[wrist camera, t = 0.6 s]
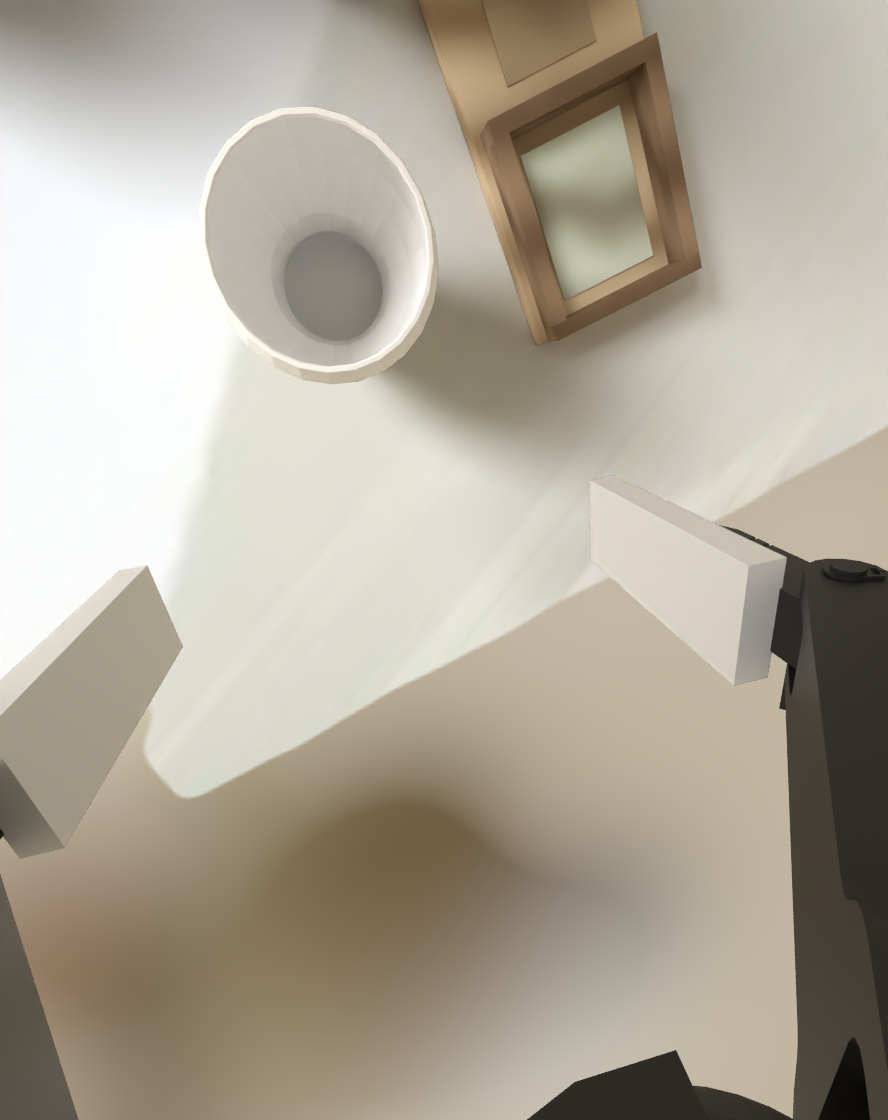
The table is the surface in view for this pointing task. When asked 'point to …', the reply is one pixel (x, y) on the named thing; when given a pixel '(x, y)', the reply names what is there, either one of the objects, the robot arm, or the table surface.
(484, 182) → the holder board
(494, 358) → the table surface
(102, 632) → the robot arm
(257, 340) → the cup
